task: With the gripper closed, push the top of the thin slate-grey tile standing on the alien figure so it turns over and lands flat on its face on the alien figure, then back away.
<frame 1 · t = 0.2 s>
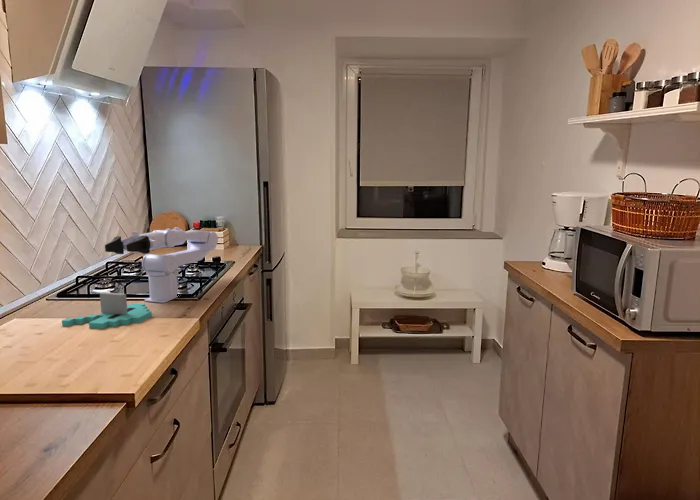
hand: (116, 248, 149), 21 cm above the table, tool horizontal, fingers open, 7 cm apart
alien figure: (115, 320, 152), on the table, touching tile
tile: (114, 312, 151), point 2 cm above the table, touching alien figure
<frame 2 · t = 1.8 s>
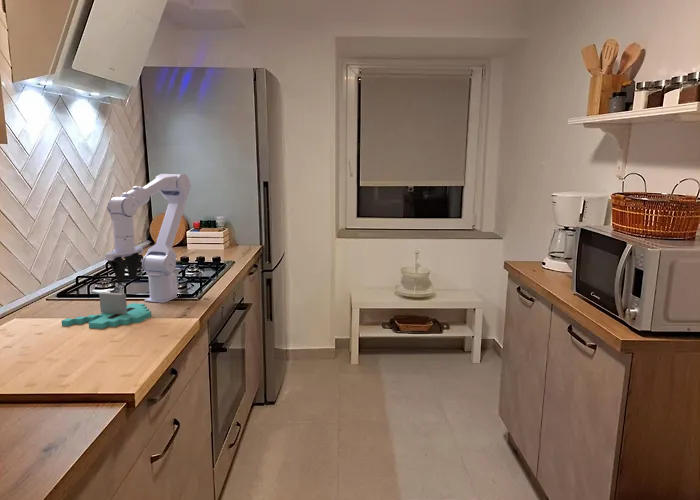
hand: (126, 279, 156), 10 cm above the table, tool pointing down, fingers open, 5 cm apart
nothing on the table moved.
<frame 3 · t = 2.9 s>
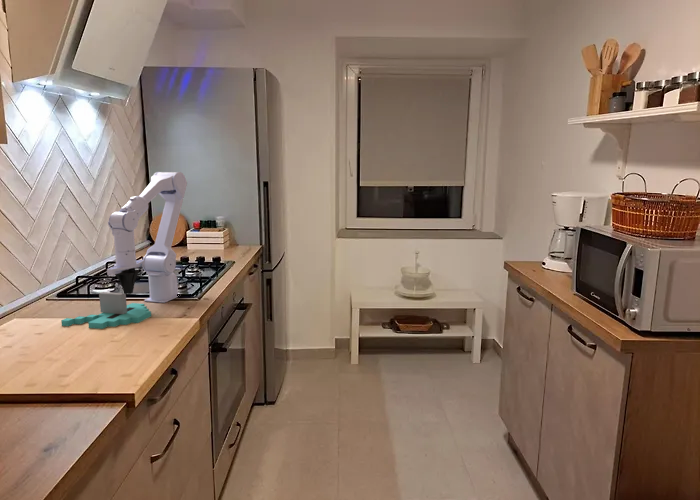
hand: (128, 293, 157), 6 cm above the table, tool pointing down, fingers closed
alien figure: (115, 320, 152), on the table
tile: (114, 312, 151), point 2 cm above the table
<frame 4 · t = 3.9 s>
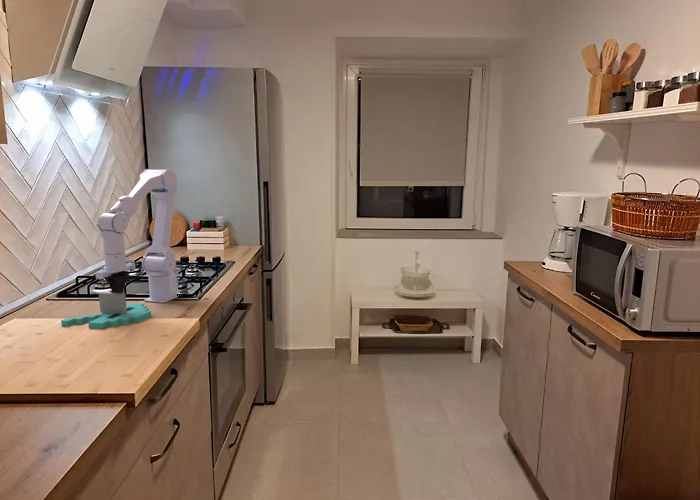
hand: (118, 296, 152), 6 cm above the table, tool pointing down, fingers closed
alien figure: (115, 319, 152), on the table, touching tile
tile: (113, 312, 151), point 2 cm above the table, touching gripper, alien figure
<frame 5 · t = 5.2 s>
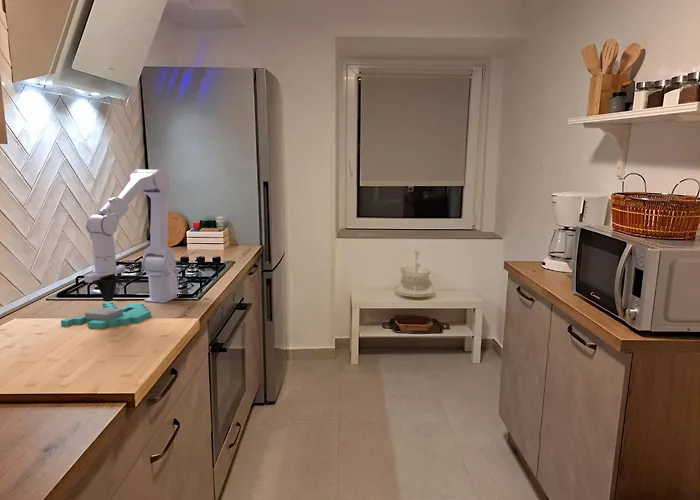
hand: (108, 300, 148), 6 cm above the table, tool pointing down, fingers closed
tile: (111, 310, 150), point 2 cm above the table, tilted 90°, touching alien figure
everything else where it was.
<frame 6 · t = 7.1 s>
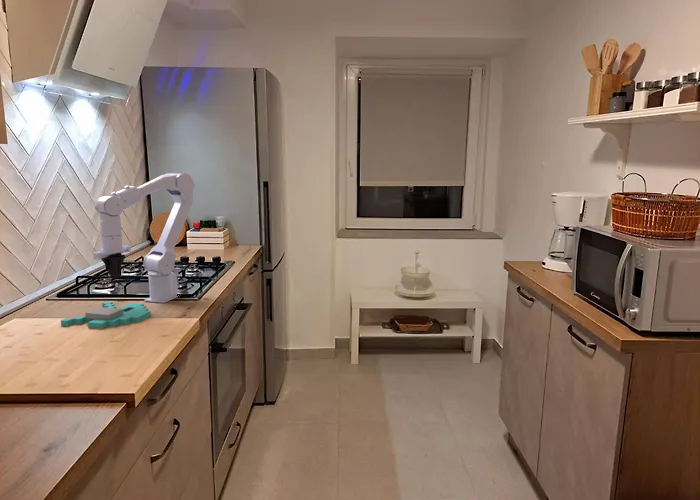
hand: (114, 277, 157), 10 cm above the table, tool pointing down, fingers closed
nothing on the table moved.
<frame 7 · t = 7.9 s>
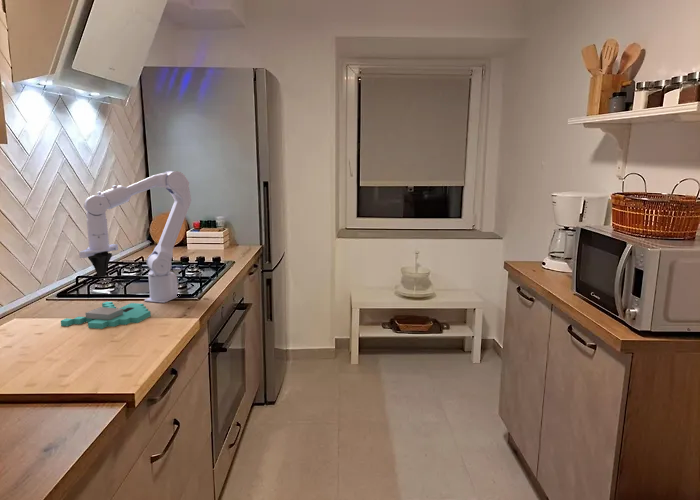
hand: (101, 276, 160), 10 cm above the table, tool pointing down, fingers closed
nothing on the table moved.
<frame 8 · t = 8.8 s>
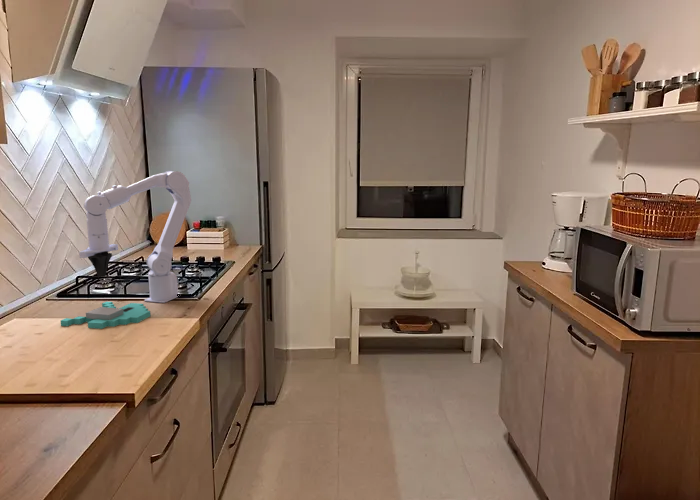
hand: (101, 276, 160), 10 cm above the table, tool pointing down, fingers closed
nothing on the table moved.
at the end: tile tilted 90°; tile touching alien figure; tile inside the target area (0.7 cm from its centre), point 2.3 cm above the table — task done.
